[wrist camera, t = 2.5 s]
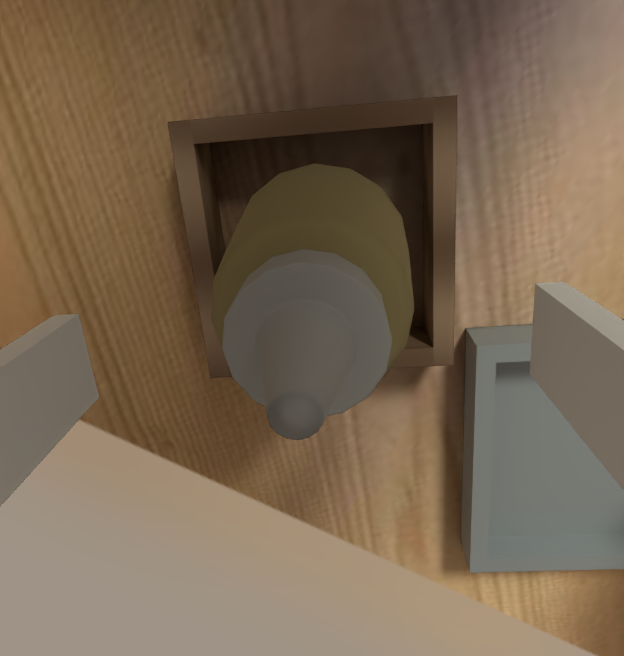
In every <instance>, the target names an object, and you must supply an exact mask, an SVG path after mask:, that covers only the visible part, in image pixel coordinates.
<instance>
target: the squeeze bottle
mask: <svg viewBox="0 0 624 656" xmlns="http://www.w3.org/2000/svg"><path fill="white" fill-rule="evenodd" d="M413 313H414V298H413V288H412V278H411V267H410V257H409V249H408V244H407V239H406V234H405V230H404V225H403V220H402V216H401V214H400V213H399V212H398V210H397V209H396V207H395V206H394V205H393V203H392V202H391V200H390V199H389V197H388V196H387V195H386V193H385V192H384V190H383V189H382V188H381V187H380V186H378V185H377V184H375V183H374V182H372V181H370V180H369V179H367V178H365V177H364V176H362V175H360V174H359V173H357V172H355V171H354V170H352V169H351V168H344V167H337V166H329V165H322V164H315V163H314V164H310V165H307V166H303V167H300V168H296V169H293V170H289V171H286V172H282V173H279V174H278V175H277V176H275V177H274V178H273V179H272V180H271V181H269V182H268V183H267V184H266V185H264V186H263V187H262V188H261V189H260V190H258V191H257V192H256V193H255V194H253V195H252V197H251V199H250V200H249V202H248V204H247V206H246V208H245V210H244V212H243V214H242V216H241V218H240V220H239V222H238V224H237V226H236V228H235V230H234V233H233V235H232V237H231V240H230V242H229V244H228V247H227V249H226V251H225V254H224V256H223V258H222V261H221V263H220V265H219V268H218V270H217V273H216V275H215V277H214V280H213V289H212V306H211V320H212V323H213V326H214V329H215V332H216V334H217V337H218V340H219V343H220V346H221V348H222V351H223V354H224V355H225V358H226V360H227V363H228V366H229V369H230V372H231V374H232V377H233V378H234V379H235V381H236V382H237V383H238V384H239V385H240V386H241V387H242V388H243V390H244V391H245V392H246V393H247V394H248V395H249V396H250V397H251V398H252V400H254V401H255V402H257V403H259V404H261V405H263V406H265V407H266V411H267V417H268V420H269V423H270V426H271V427H272V428H273V429H274V430H275V432H276V433H277V434H279V435H281V436H283V437H285V438H287V439H294V440H300V439H305V438H309V437H310V436H312V435H313V434H315V433H317V431H318V430H319V428H320V427H321V426H322V424H323V422H324V420H325V418H326V416H330V415H334V414H339V413H343V412H345V411H346V410H348V409H349V408H351V407H353V406H354V405H356V404H357V403H359V402H360V401H362V400H364V399H365V398H367V397H368V396H369V395H370V394H371V392H372V391H373V390H374V388H375V387H376V385H377V384H378V382H379V381H380V380H381V378H382V377H384V376H385V375H386V374H387V373H388V371H389V370H390V368H391V367H392V365H393V364H394V363H395V361H396V360H397V358H398V357H399V355H400V354H401V353H402V351H403V350H404V348H405V347H406V346H407V342H408V337H409V332H410V327H411V323H412V318H413Z"/></svg>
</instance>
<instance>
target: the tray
mask: <svg viewBox="0 0 624 656" xmlns="http://www.w3.org/2000/svg"><path fill="white" fill-rule="evenodd" d="M622 320H624V319H622ZM532 328H533V324H529V325H512V326H495V327H478V328H466V343H465V387H464V431H463V476H462V520H461V544H462V547H463V551H464V554H465V558H466V561H467V565H468V568H469V572H470V573H477V572H519V571H561V570H603V569H624V491H623V490H622V488H621V487H620V486H619V485H618V483H617V482H616V481H615V480H614V478H613V477H612V476H611V475H610V473H609V472H608V471H607V470H606V468H605V467H604V466H603V465H602V463H601V462H600V461H599V460H598V458H597V457H596V456H595V455H594V453H593V452H592V451H591V450H590V448H589V447H588V446H587V445H586V443H585V442H584V441H583V440H582V439H581V437H580V436H579V435H578V434H577V432H576V431H575V430H574V429H573V427H572V426H571V425H570V424H569V422H568V421H567V420H566V419H565V417H564V416H563V415H562V414H561V412H560V411H559V410H558V409H557V407H556V406H555V405H554V404H553V402H552V401H551V400H550V399H549V397H548V396H547V395H546V394H545V392H544V391H543V390H542V389H541V387H540V386H539V385H538V384H537V382H536V381H535V380H534V379H533V377H532V376H531V375H530V359H531V343H532Z"/></svg>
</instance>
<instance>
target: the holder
mask: <svg viewBox="0 0 624 656" xmlns="http://www.w3.org/2000/svg"><path fill="white" fill-rule="evenodd" d="M415 124H423V191H424V326H423V327H410V332H409V337H408V342H407V346H406V347H405V348H404V350H403V351H402V353H401V354H400V355H399V357H398V358H397V360H396V361H395V363H394V364H393V365H392V367H391V368H405V367H424V366H443V365H454V302H455V231H456V160H457V95H455V96H444V97H433V98H423V99H412V100H401V101H390V102H379V103H368V104H357V105H346V106H336V107H325V108H314V109H303V110H292V111H281V112H270V113H259V114H249V115H238V116H227V117H216V118H205V119H194V120H183V121H173V122H168V128H169V133H170V139H171V145H172V151H173V157H174V163H175V169H176V175H177V181H178V187H179V193H180V199H181V205H182V211H183V216H184V222H185V228H186V234H187V240H188V246H189V252H190V258H191V264H192V270H193V276H194V282H195V288H196V293H197V299H198V305H199V311H200V317H201V323H202V329H203V335H204V341H205V347H206V353H207V359H208V365H209V370H210V376H211V378H218V377H232V374H231V372H230V369H229V366H228V363H227V360H226V358H225V355H224V354H223V351H222V348H221V346H220V343H219V340H218V337H217V334H216V332H215V329H214V326H213V323H212V320H211V306H212V289H213V280H214V277H215V275H216V273H217V270H218V268H219V265H220V263H221V261H222V258H223V256H224V254H225V248H224V241H223V234H222V227H221V220H220V213H219V206H218V199H217V192H216V185H215V178H214V171H213V164H212V157H211V150H210V144H209V143H211V142H223V141H234V140H245V139H257V138H268V137H279V136H291V135H302V134H313V133H325V132H336V131H347V130H359V129H370V128H381V127H392V126H404V125H415Z"/></svg>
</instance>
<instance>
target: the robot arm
mask: <svg viewBox="0 0 624 656" xmlns="http://www.w3.org/2000/svg"><path fill="white" fill-rule="evenodd" d="M530 375H531V376H532V377H533V379H534V380H535V381H536V382H537V384H538V385H539V386H540V387H541V389H542V390H543V391H544V392H545V394H546V395H547V396H548V397H549V399H550V400H551V401H552V402H553V404H554V405H555V406H556V407H557V409H558V410H559V411H560V412H561V414H562V415H563V416H564V417H565V419H566V420H567V421H568V422H569V424H570V425H571V426H572V427H573V429H574V430H575V431H576V432H577V434H578V435H579V436H580V437H581V439H582V440H583V441H584V442H585V443H586V445H587V446H588V447H589V448H590V450H591V451H592V452H593V453H594V455H595V456H596V457H597V458H598V460H599V461H600V462H601V463H602V465H603V466H604V467H605V468H606V470H607V471H608V472H609V473H610V475H611V476H612V477H613V478H614V480H615V481H616V482H617V483H618V485H619V486H620V487H621V488H622V490H623V491H624V320H622V319H620V318H619V317H617V316H616V315H614V314H613V313H611V312H610V311H608V310H607V309H605V308H604V307H602V306H601V305H599V304H597V303H596V302H594V301H593V300H591V299H590V298H588V297H587V296H585V295H584V294H582V293H581V292H579V291H577V290H576V289H574V288H573V287H571V286H570V285H568V284H567V283H565V282H551V283H536V284H535V298H534V313H533V328H532V343H531V359H530ZM98 398H99V394H98V390H97V386H96V382H95V378H94V374H93V370H92V366H91V362H90V358H89V354H88V350H87V346H86V342H85V338H84V334H83V330H82V326H81V322H80V318H79V314H68V315H53V316H52V317H50V318H49V319H47V320H46V321H44V322H42V323H41V324H39V325H38V326H36V327H35V328H33V329H32V330H30V331H28V332H27V333H25V334H24V335H22V336H21V337H19V338H17V339H16V340H14V341H13V342H11V343H10V344H8V345H7V346H5V347H3V348H2V349H0V506H1V505H2V504H3V503H4V502H5V501H6V500H7V498H8V497H9V496H10V495H11V494H12V493H13V492H14V491H15V490H16V489H17V487H18V486H19V485H20V484H21V483H22V482H23V481H24V480H25V478H26V477H27V476H28V475H29V474H30V473H31V472H32V471H33V470H34V468H36V466H37V465H38V464H39V463H40V462H41V461H42V460H43V459H44V458H45V457H46V455H47V454H48V453H49V452H50V451H51V450H52V449H53V448H54V447H55V446H56V444H57V443H58V442H59V441H60V440H61V439H62V438H63V437H64V436H65V434H66V433H67V432H68V431H69V430H70V429H71V428H72V427H73V425H74V424H75V423H76V422H77V421H78V420H79V419H80V418H81V417H82V416H83V415H84V413H85V412H86V411H87V410H88V409H89V408H90V407H91V406H92V405H93V403H94V402H95V401H96V400H97V399H98Z"/></svg>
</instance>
